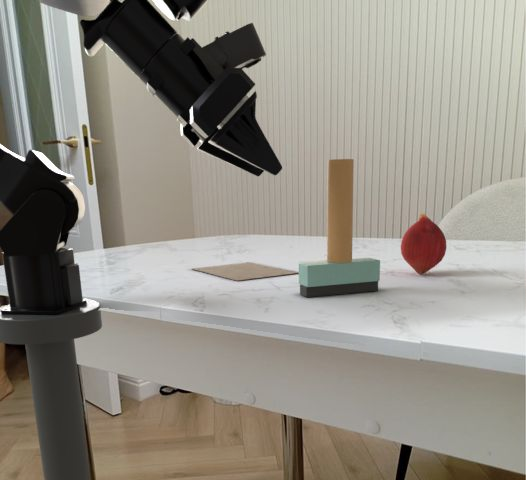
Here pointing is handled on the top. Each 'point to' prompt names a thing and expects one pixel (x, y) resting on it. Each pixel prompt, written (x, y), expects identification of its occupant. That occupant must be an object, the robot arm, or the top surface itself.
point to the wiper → (339, 244)
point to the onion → (423, 245)
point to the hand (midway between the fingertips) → (269, 172)
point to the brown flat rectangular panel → (244, 271)
